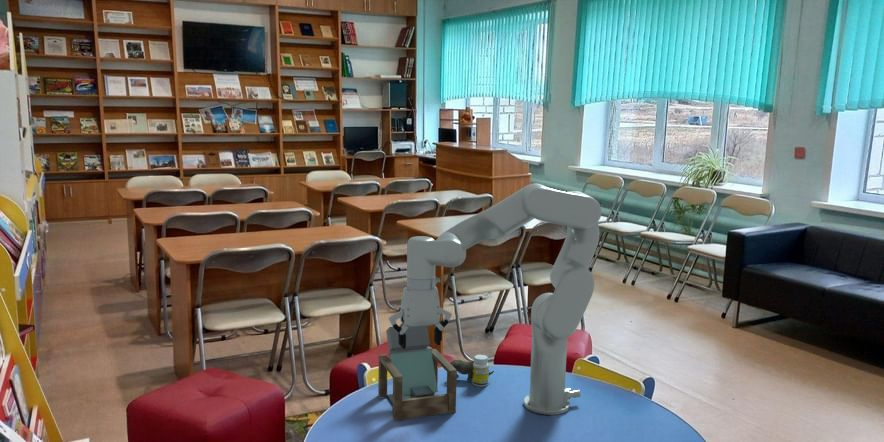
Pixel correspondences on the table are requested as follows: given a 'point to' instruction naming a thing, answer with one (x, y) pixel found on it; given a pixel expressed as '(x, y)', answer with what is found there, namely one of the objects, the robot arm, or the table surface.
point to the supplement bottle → (480, 371)
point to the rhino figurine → (465, 368)
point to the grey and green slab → (413, 358)
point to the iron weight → (420, 392)
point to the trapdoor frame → (419, 405)
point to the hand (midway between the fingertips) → (420, 345)
